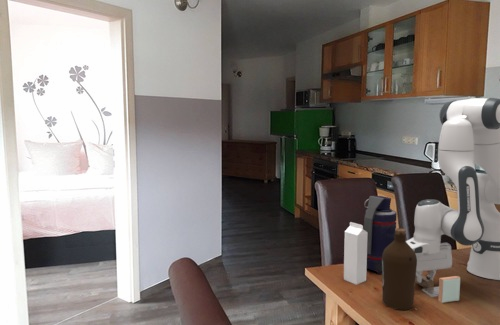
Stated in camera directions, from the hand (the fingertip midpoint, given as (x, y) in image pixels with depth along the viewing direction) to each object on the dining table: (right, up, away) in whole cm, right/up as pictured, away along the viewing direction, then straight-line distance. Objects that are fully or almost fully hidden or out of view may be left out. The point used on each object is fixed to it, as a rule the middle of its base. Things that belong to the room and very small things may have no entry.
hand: (425, 281), depth 137 cm
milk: (-24, -2, +6) cm, 25 cm away
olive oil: (-15, -3, -12) cm, 20 cm away
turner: (0, -2, -1) cm, 2 cm away
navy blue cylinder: (-12, 0, +16) cm, 20 cm away
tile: (+3, -3, -11) cm, 12 cm away
